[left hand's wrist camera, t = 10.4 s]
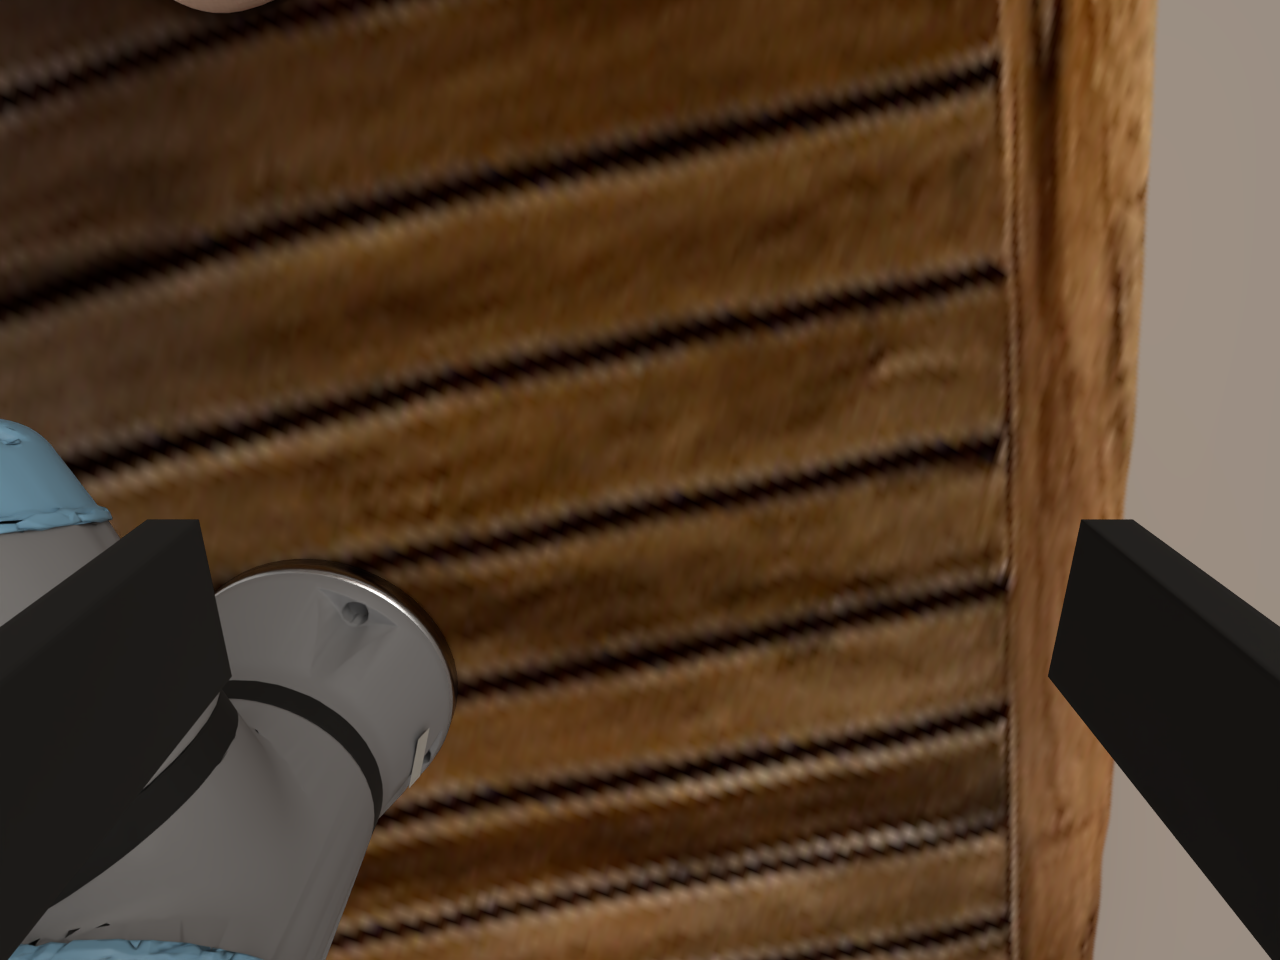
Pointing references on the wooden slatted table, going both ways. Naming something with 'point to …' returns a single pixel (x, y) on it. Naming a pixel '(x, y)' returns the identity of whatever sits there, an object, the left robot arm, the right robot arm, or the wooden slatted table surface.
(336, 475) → the wooden slatted table surface
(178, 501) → the wooden slatted table surface
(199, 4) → the anatomical model
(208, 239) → the wooden slatted table surface
